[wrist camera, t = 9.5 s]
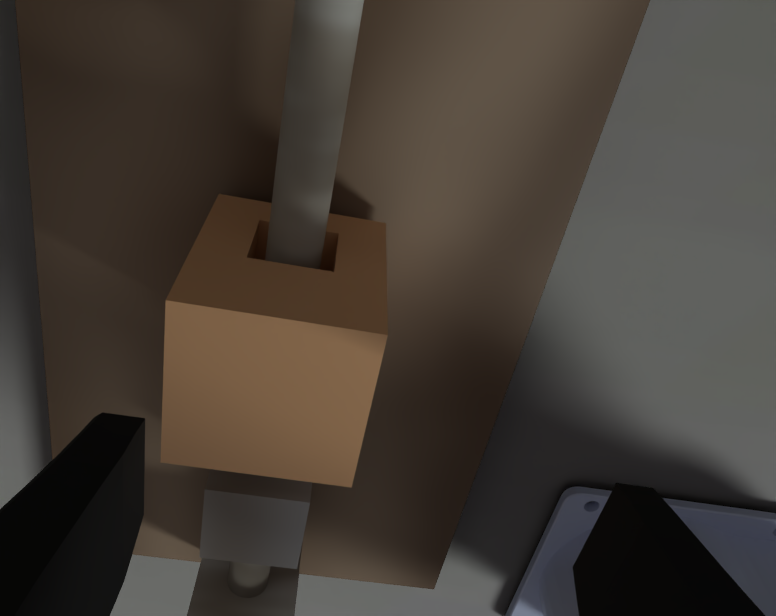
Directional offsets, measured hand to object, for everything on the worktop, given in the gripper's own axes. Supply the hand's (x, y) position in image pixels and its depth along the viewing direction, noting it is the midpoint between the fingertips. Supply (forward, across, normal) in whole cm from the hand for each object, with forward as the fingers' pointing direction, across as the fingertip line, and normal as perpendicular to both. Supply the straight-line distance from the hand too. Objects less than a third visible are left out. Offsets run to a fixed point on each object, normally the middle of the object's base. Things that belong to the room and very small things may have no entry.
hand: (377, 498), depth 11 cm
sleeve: (+8, +2, +1) cm, 8 cm away
